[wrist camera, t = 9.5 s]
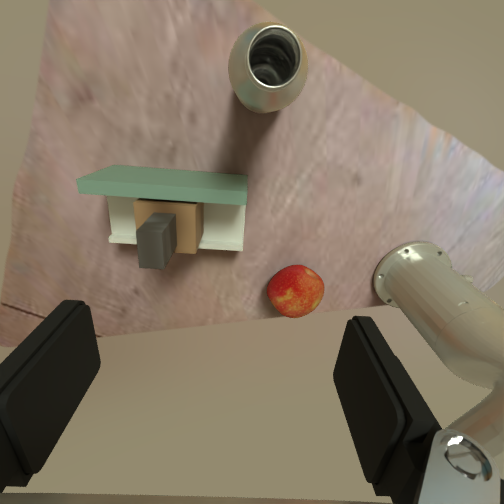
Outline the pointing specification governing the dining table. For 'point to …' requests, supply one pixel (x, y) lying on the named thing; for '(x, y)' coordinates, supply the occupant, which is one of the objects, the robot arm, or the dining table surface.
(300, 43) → the plastic bottle
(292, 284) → the apple
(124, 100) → the dining table surface
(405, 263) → the robot arm
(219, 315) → the dining table surface
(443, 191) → the dining table surface
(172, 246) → the tan grey tall block
